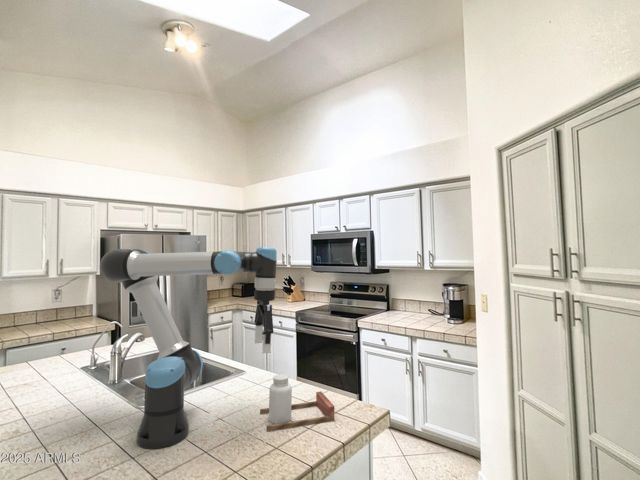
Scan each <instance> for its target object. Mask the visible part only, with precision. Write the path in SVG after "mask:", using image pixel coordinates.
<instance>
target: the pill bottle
mask: <svg viewBox="0 0 640 480" xmlns="http://www.w3.org/2000/svg"><path fill="white" fill-rule="evenodd" d="M272 379H273V380H272V381H273V383H272V384H271V385H270V386H269V393H268V395H269V397H268V399H269V400H268V408H269V413H268V421H269V422H270V423H271V424H273V425H274V424H280V423H287V422H291V419H292V410H291V405H292V393H293V389H292V388H293V387H292V385H291V383H289V376H288V375H287V374H282V373H281V374H276V375H274V376H273V377H272Z"/></svg>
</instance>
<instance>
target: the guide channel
mask: <svg viewBox="0 0 640 480" xmlns="http://www.w3.org/2000/svg"><path fill="white" fill-rule="evenodd" d="M315 399H316V400H314V401H309V402H307V401H306V402H301V403H293V404H291V411H292V410H300V409H306V408H312V407H317V408H318V409H319V411H320V412H321V413H322V414H323V416H320V417H319V416H318V417H313V418H308V419H307V418H305V419H300V420H294V421H289V422H287V423H280V424H274V423H273V424H268V425H266V433H267V432H274V431H280V430H285V429H291V428H297V427H304V426H311V425H315V424H322V423H329V422H334V421H335V405H334V404H333V403H332V401H331V400H330V399H329V398H328V397H327V396H326V395H325V394H324V393H323V392H322V391H317V392H316V395H315ZM259 414H260V415H265V414H266V415H268V414H269V407H265V408H260V409H259Z"/></svg>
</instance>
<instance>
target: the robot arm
mask: <svg viewBox="0 0 640 480" xmlns="http://www.w3.org/2000/svg"><path fill="white" fill-rule="evenodd" d="M277 261H278V259H277V249H276V248H275V247H266V246H265V247H263V246H261V247H260V246H258V247H257V248H256V250H255V251H254V252H253V251H252V252H250V251H234V250H223V251H191V252H190V251H188V252H187V251H186V252H160V253H159V252H156V253H153V252H151V253H150V252H149V251H147V250H143V249H140V248H133V249H127V248H117V249H112V250H110V251H108V252H106V253H105V254H104V255H103V257H102V258H101V260H100V263H99V271H100V273H101V275H102V276H103V278H105V279H106V280H107V281H110V282H113V283H121V284H122V286H123V287H124V290H125V292H128V293H131V294H132V296H133V298H134V301H135V303H136V304H137V305H136V306H137V307H138V310H139V311H140V313H141V316H142V318H143V321H144V323H145V324H146V327H147V329H148V331H149V333H150V335H151V337H152V340H153V341H154V344H155V345H156V348H157V351H158V353H159V354H158V355H157V356H158V357H157V359H155V360H154V361H152V362H150V363H149V364H148V365H147V367H146V369H145V376H144V404H143V405H144V409H143V411H144V413H143V417H142V419H141V422H140V425H139V428H138V431H137V434H136V443H137V445H138V446H140V448H141V447H142V448H143V449H150V450H151V449H152V450H153V449H154V450H155V449H156V450H157V449H162V448H167V447H170V446H173V445H176V444H178V443H179V442H182V441H183V440H184V439H185V438H187V436H188V435H189V431H190V429H189V428H190V424H189V421H188V418H187V414H186V411H185V408H184V406H185V390H186V389H187V388H188V387H189V386H190V385H192V383H194V382H195V381H196V380H197V379H198V378H199V376H200V374H201V373H202V370H203V365H204V364H203V363H204V362H203V358H202V355H201V354H200V353H199V352H198V351H197V350H195V349H193V348H192V346H191V344H190V342H188V341H185V340H184V339H183V337H182V336H181V333H180V331H179V329H178V326H177V325H176V322H175V320H174V318H173V316H172V313H171V312H170V309H169V307H168V305H167V303H166V301H165V299H164V297H163V295H162V293H161V291H160V288H159V286H158V284H157V282H158V279H159V277H161V276H162V277H163V276H167V277H168V276H197V275H201V276H202V275H232V274H233V275H234V274H238V273H253V274H255V276H254V288H255V290H254V291H253V292H254V294H253V295H254V296H253V299H254V300H255V301H256V308H255V315H254V320H253V321H254V325H255V328H254V329H255V331H254V344H262V351H261V352H262V354H271V351H272V349H271V348H272V335H273V334H274V322H273V321H274V320H273V319H274V318H273V305H272V304H270V302H272V301H275V300H276V299H275V298H276V291H275V288H276V283H277V282H278V281H277V280H276V278H277V277H276V276H277V264H278V263H277Z"/></svg>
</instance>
